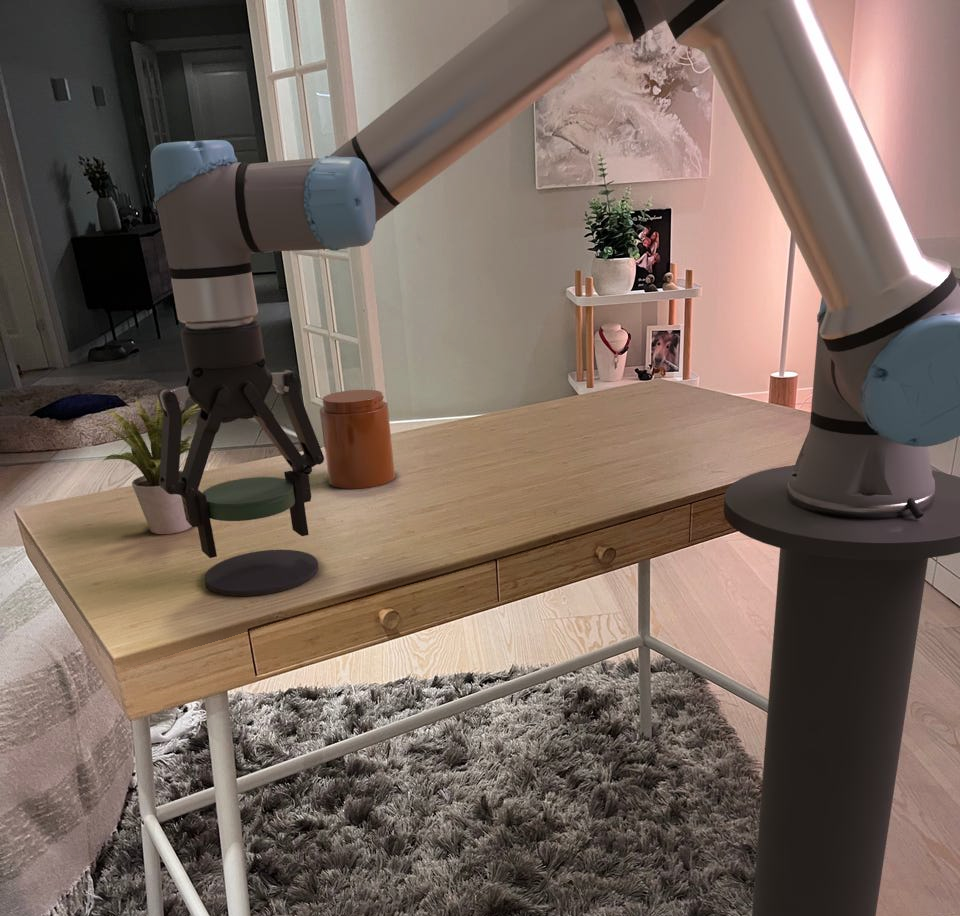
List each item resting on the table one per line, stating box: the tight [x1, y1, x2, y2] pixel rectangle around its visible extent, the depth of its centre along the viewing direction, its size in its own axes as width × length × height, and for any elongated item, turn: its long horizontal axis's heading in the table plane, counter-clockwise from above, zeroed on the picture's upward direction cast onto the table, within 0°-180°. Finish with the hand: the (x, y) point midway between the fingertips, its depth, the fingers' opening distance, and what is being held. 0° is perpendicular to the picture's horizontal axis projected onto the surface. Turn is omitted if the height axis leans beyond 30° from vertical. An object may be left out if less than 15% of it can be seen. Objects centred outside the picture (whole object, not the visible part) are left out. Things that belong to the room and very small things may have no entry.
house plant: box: [100, 396, 201, 535], centre depth 117 cm, size 14×14×16 cm
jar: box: [319, 389, 396, 490], centre depth 133 cm, size 9×9×12 cm
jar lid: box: [201, 476, 295, 522], centre depth 101 cm, size 10×9×2 cm
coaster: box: [204, 549, 320, 597], centre depth 104 cm, size 12×12×1 cm
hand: (256, 542), depth 103 cm, fingers closed on jar lid, 9 cm apart
